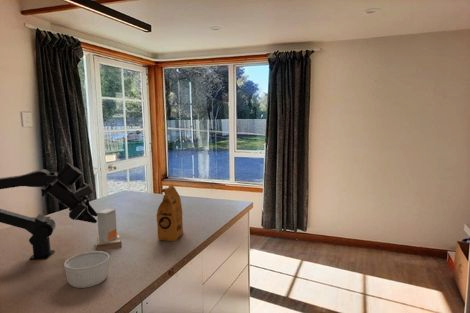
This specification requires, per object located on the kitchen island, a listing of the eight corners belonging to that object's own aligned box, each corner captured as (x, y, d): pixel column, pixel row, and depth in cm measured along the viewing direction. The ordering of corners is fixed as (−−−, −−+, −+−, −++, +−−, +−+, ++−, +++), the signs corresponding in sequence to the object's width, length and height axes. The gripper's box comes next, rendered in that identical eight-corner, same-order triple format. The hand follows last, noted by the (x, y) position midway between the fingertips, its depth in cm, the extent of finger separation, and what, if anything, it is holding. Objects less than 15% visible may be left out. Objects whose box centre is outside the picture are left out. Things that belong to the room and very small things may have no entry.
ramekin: (108, 266, 114) (106, 247, 113) (114, 283, 102) (112, 262, 101) (65, 276, 107) (63, 256, 106) (66, 295, 96) (64, 272, 95)
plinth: (121, 247, 130) (121, 241, 129) (97, 251, 126) (96, 245, 126) (120, 239, 138) (120, 234, 138) (97, 243, 135) (97, 237, 134)
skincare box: (107, 242, 128) (105, 213, 127) (98, 241, 130) (96, 212, 128) (117, 237, 134) (115, 209, 132) (109, 236, 135) (107, 208, 134)
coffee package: (153, 241, 135) (150, 189, 133) (165, 230, 148) (162, 183, 145) (176, 242, 134) (174, 189, 131) (186, 231, 146) (184, 183, 143)
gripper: (76, 182, 117) (111, 209, 122) (80, 174, 134) (111, 198, 139) (53, 206, 115) (89, 232, 120) (60, 195, 132) (92, 218, 137)
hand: (96, 218), depth 129 cm, fingers open, 9 cm apart
